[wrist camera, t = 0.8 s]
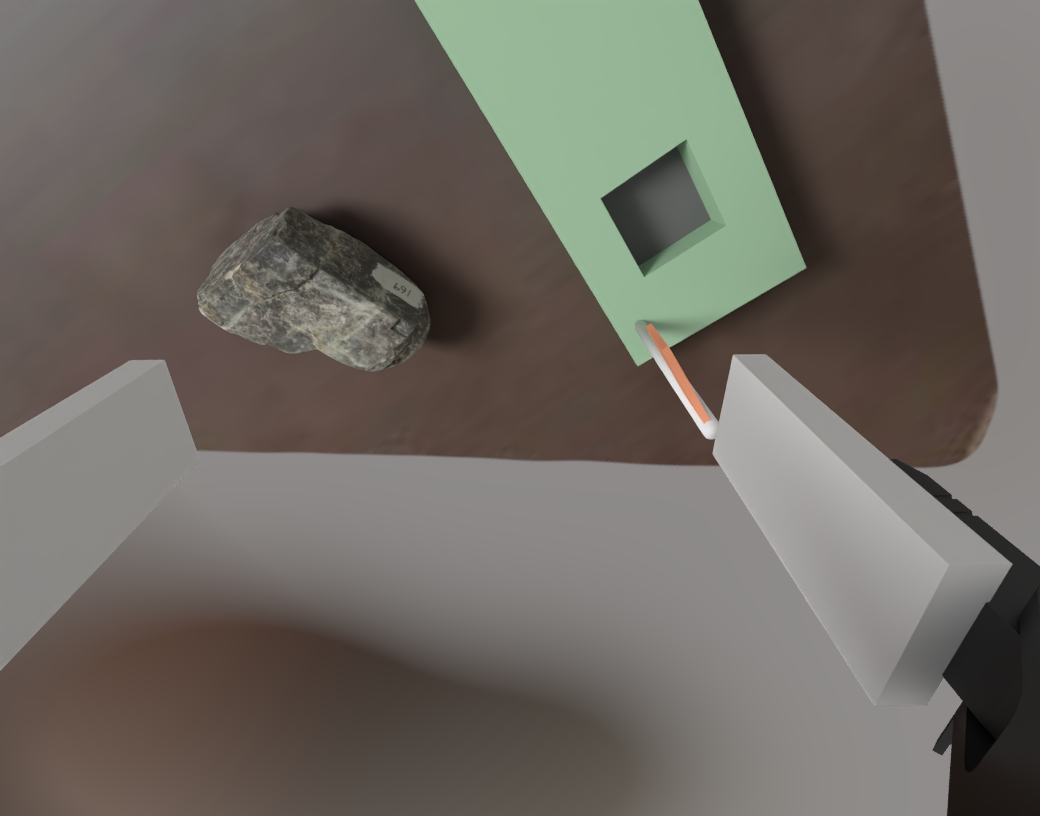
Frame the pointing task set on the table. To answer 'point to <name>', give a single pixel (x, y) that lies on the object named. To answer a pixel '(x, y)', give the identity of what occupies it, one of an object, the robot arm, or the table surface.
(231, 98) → the table surface
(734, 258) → the green
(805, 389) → the robot arm
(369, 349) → the stone
